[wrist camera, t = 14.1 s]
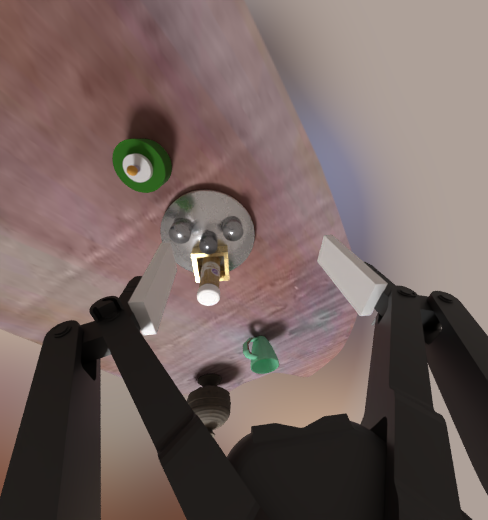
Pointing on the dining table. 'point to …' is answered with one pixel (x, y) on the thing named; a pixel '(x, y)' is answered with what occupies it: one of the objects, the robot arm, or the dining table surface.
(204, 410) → the pot
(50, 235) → the dining table surface
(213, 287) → the sprinkles bottle
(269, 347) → the mug
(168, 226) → the carrier
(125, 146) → the candle
